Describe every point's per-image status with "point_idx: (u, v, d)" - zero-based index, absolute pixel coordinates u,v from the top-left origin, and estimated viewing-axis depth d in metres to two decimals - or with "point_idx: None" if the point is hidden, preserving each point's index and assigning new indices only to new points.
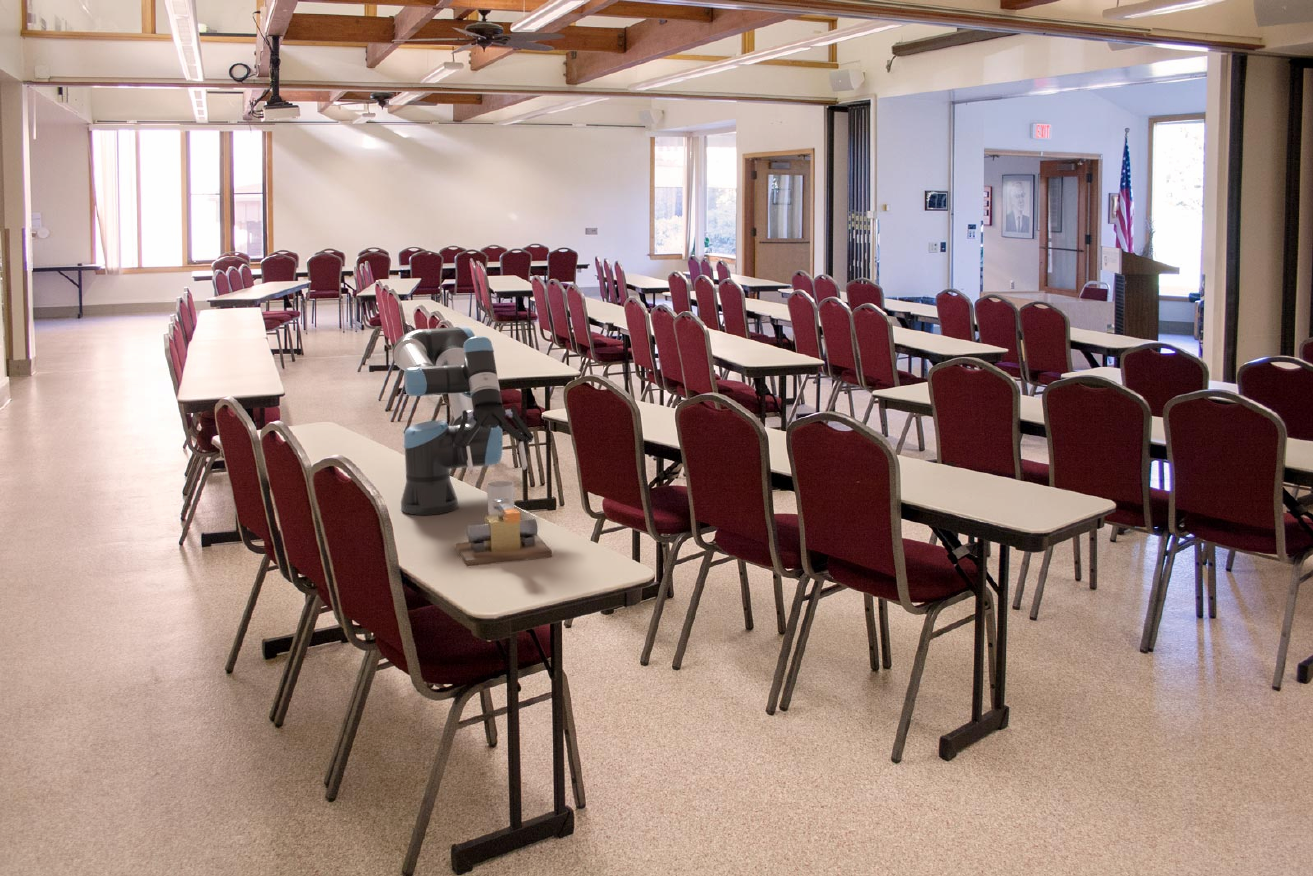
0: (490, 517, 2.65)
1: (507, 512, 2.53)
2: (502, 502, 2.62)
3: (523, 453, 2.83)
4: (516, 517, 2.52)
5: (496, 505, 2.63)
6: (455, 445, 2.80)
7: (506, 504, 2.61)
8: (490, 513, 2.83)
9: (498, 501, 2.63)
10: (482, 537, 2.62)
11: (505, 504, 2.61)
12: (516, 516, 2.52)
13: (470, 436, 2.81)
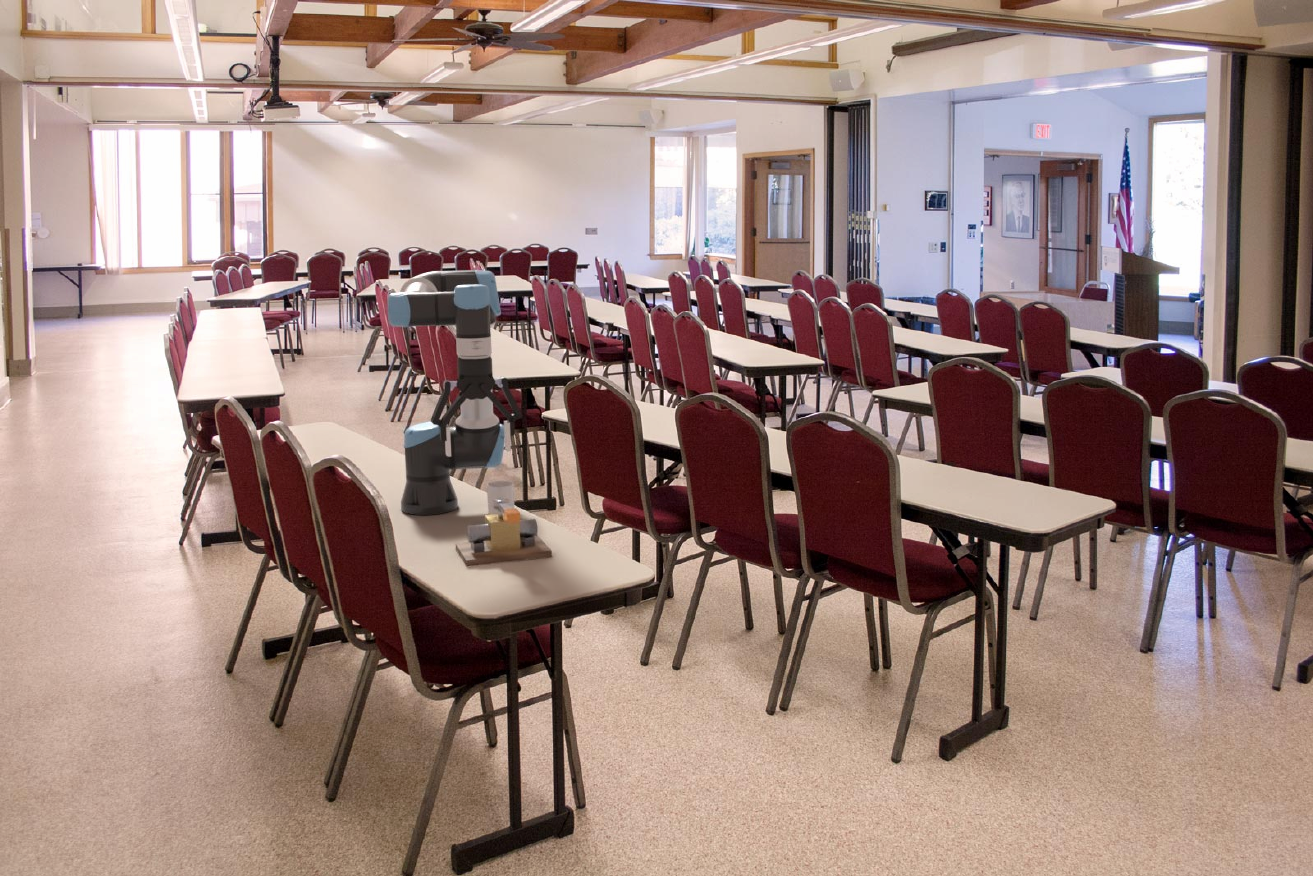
0: (490, 517, 2.65)
1: (507, 512, 2.53)
2: (502, 502, 2.62)
3: (508, 437, 2.49)
4: (516, 517, 2.52)
5: (496, 505, 2.63)
6: (433, 423, 2.44)
7: (506, 504, 2.61)
8: (490, 513, 2.83)
9: (498, 501, 2.63)
10: (482, 537, 2.62)
11: (505, 504, 2.61)
12: (516, 516, 2.52)
13: (451, 414, 2.44)
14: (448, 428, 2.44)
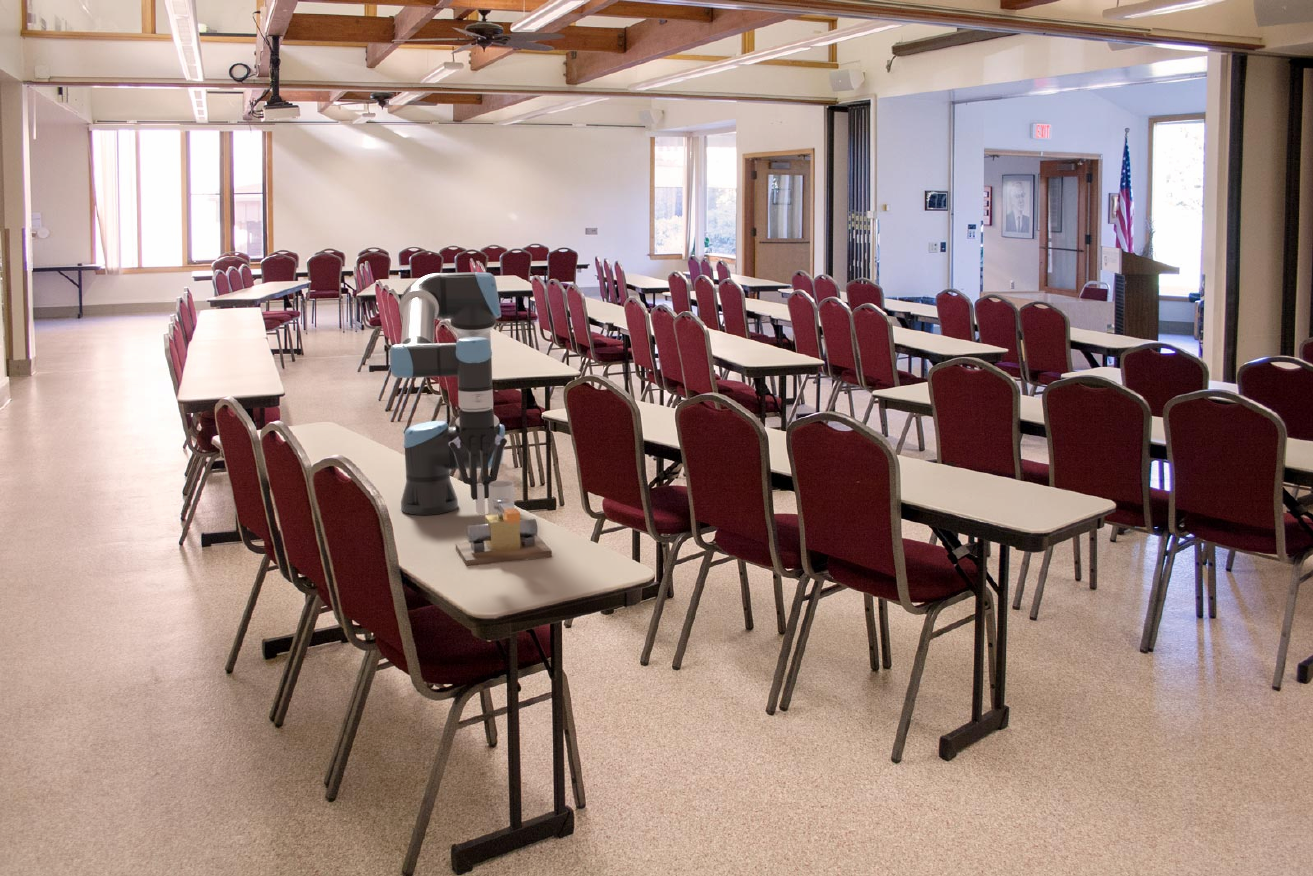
0: (490, 517, 2.65)
1: (507, 512, 2.53)
2: (502, 502, 2.62)
3: (482, 500, 2.49)
4: (516, 517, 2.52)
5: (496, 505, 2.63)
6: None
7: (506, 504, 2.61)
8: (490, 513, 2.83)
9: (498, 501, 2.63)
10: (482, 537, 2.62)
11: (505, 504, 2.61)
12: (516, 516, 2.52)
13: (475, 471, 2.48)
14: (479, 487, 2.48)
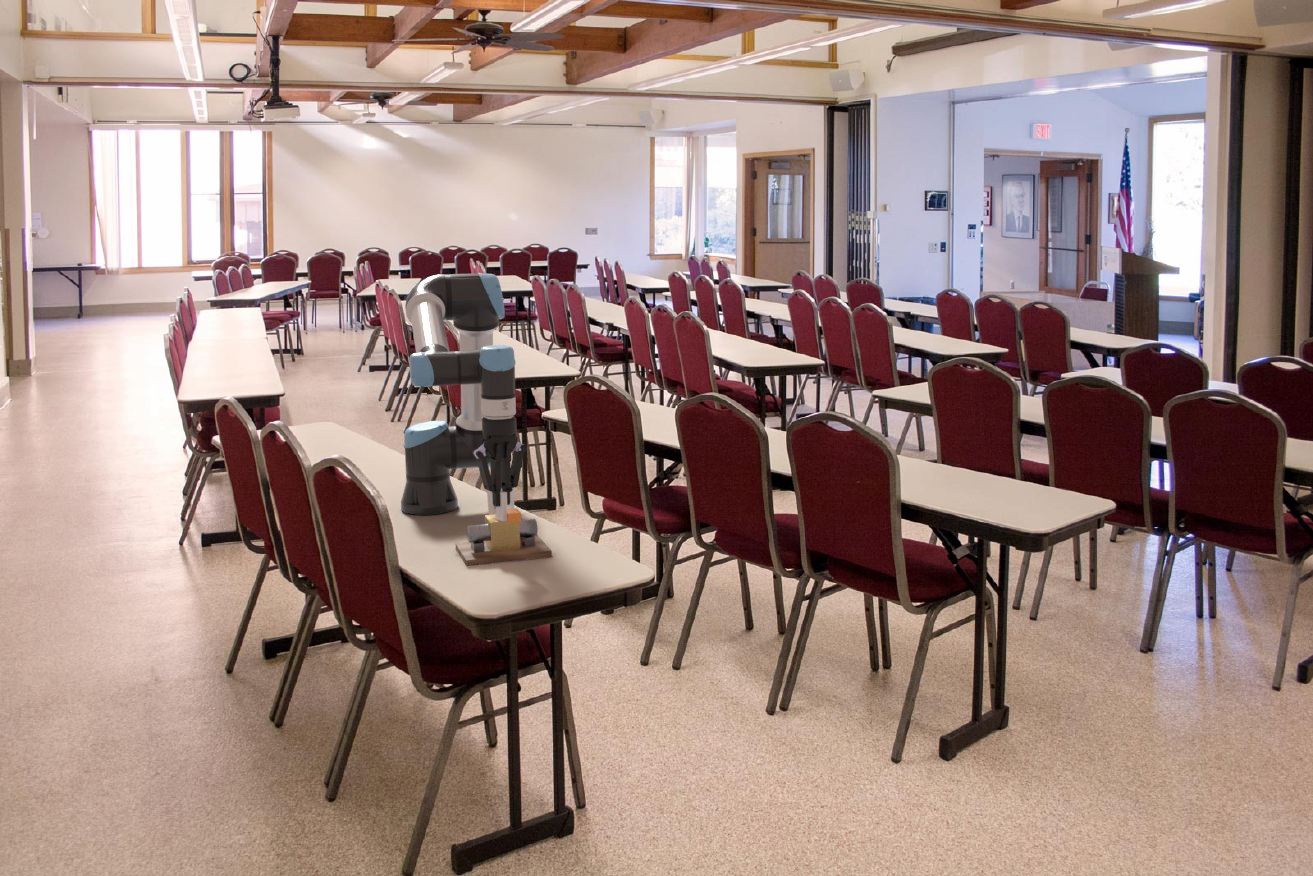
0: (490, 517, 2.65)
1: (508, 512, 2.53)
2: None
3: (505, 506, 2.51)
4: (517, 517, 2.52)
5: None
6: None
7: None
8: (490, 513, 2.83)
9: None
10: (482, 537, 2.62)
11: None
12: (517, 516, 2.52)
13: (499, 478, 2.50)
14: (503, 494, 2.51)
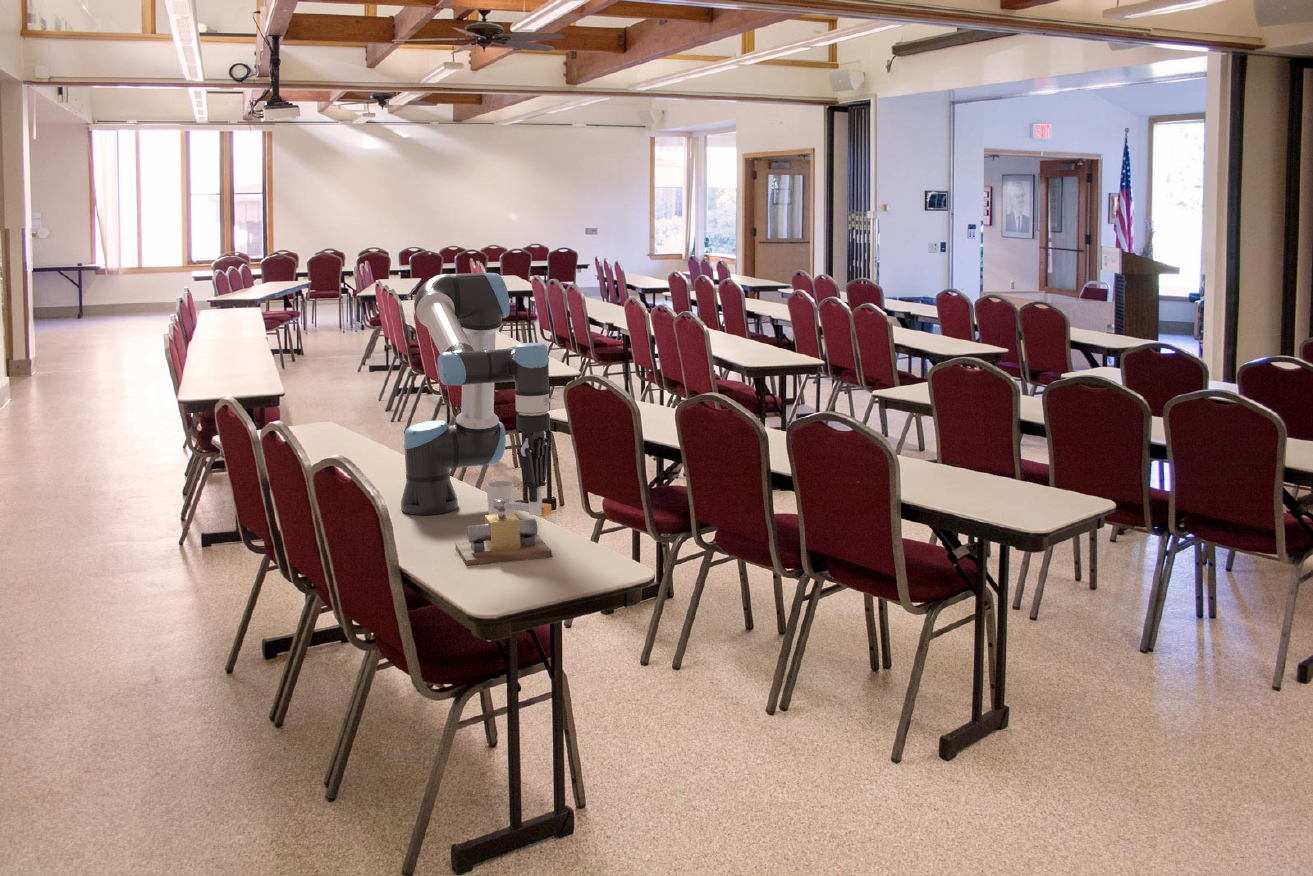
0: (490, 517, 2.65)
1: None
2: (507, 501, 2.63)
3: (541, 500, 2.56)
4: (549, 509, 2.59)
5: (501, 505, 2.62)
6: None
7: (514, 502, 2.63)
8: (490, 513, 2.83)
9: (501, 501, 2.63)
10: (482, 537, 2.62)
11: (512, 502, 2.63)
12: (549, 508, 2.59)
13: (537, 473, 2.54)
14: (540, 488, 2.55)
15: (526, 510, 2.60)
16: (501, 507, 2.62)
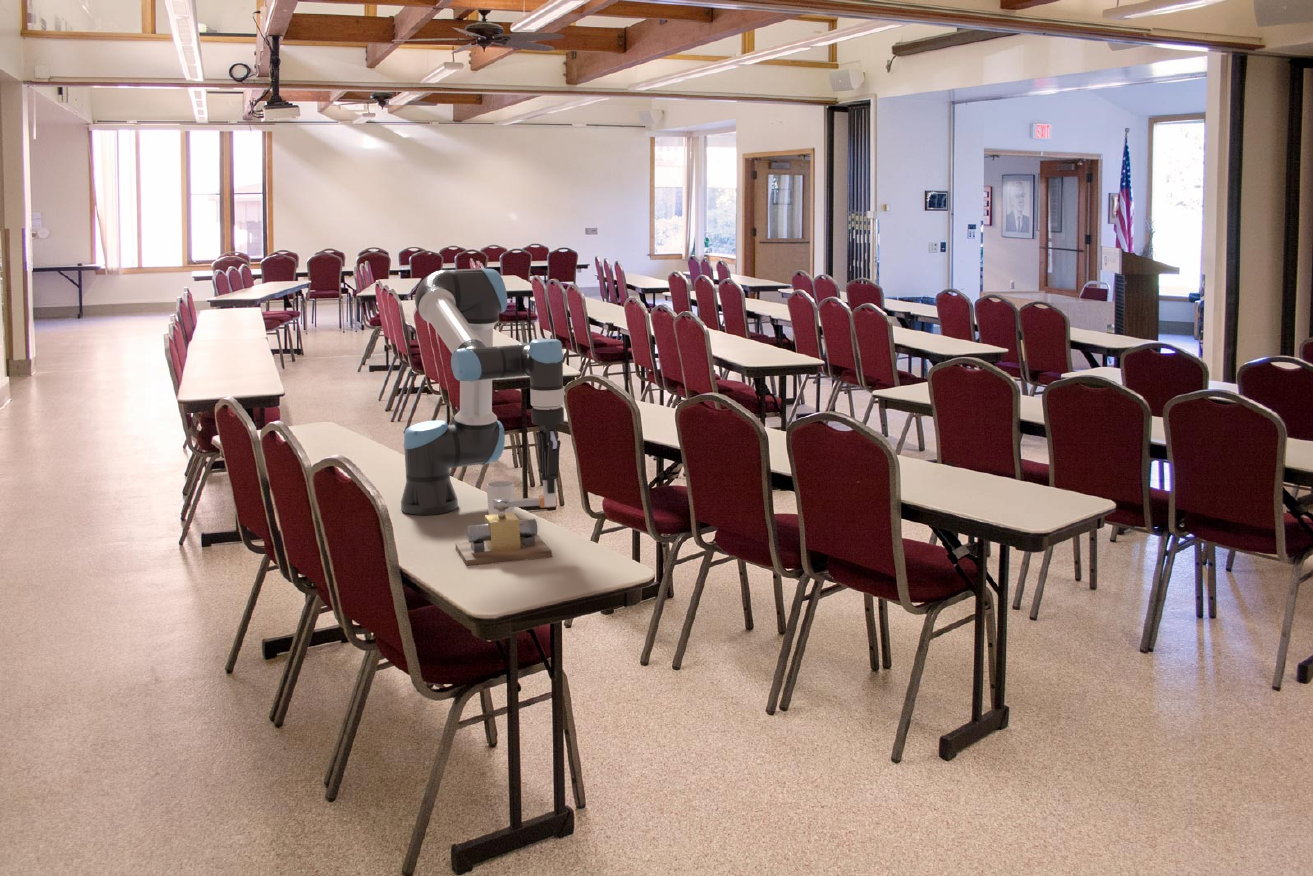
0: (490, 517, 2.65)
1: None
2: (508, 500, 2.64)
3: (554, 491, 2.64)
4: None
5: (506, 504, 2.63)
6: None
7: (515, 499, 2.65)
8: (490, 513, 2.83)
9: (504, 501, 2.63)
10: (482, 537, 2.62)
11: (513, 499, 2.65)
12: None
13: None
14: None
15: (534, 504, 2.65)
16: (506, 506, 2.63)
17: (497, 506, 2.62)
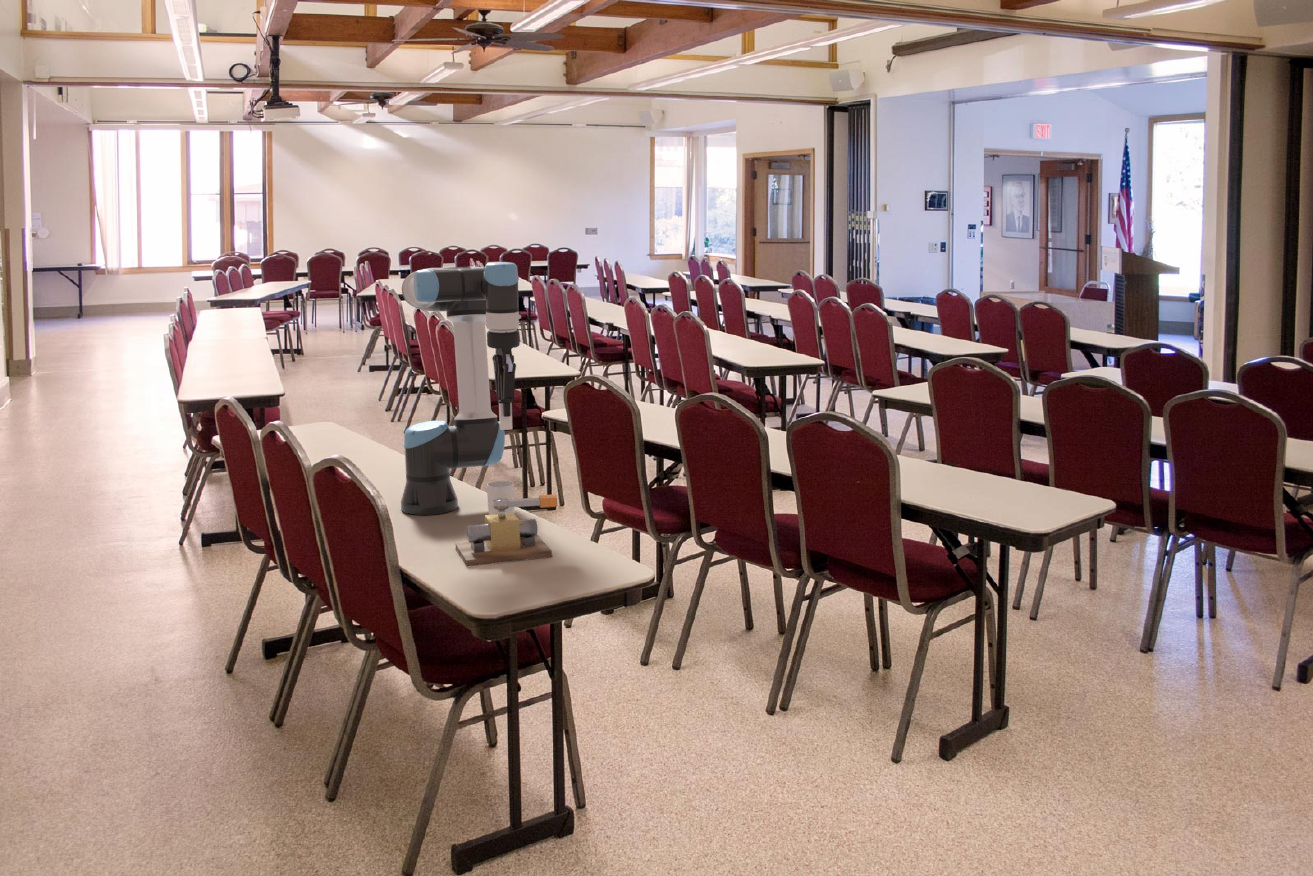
0: (490, 517, 2.65)
1: (551, 497, 2.65)
2: (508, 500, 2.64)
3: None
4: None
5: (506, 504, 2.63)
6: None
7: (515, 499, 2.65)
8: (490, 513, 2.83)
9: (504, 501, 2.63)
10: (482, 537, 2.62)
11: (513, 499, 2.65)
12: None
13: None
14: None
15: (534, 504, 2.65)
16: (506, 506, 2.63)
17: (497, 506, 2.62)
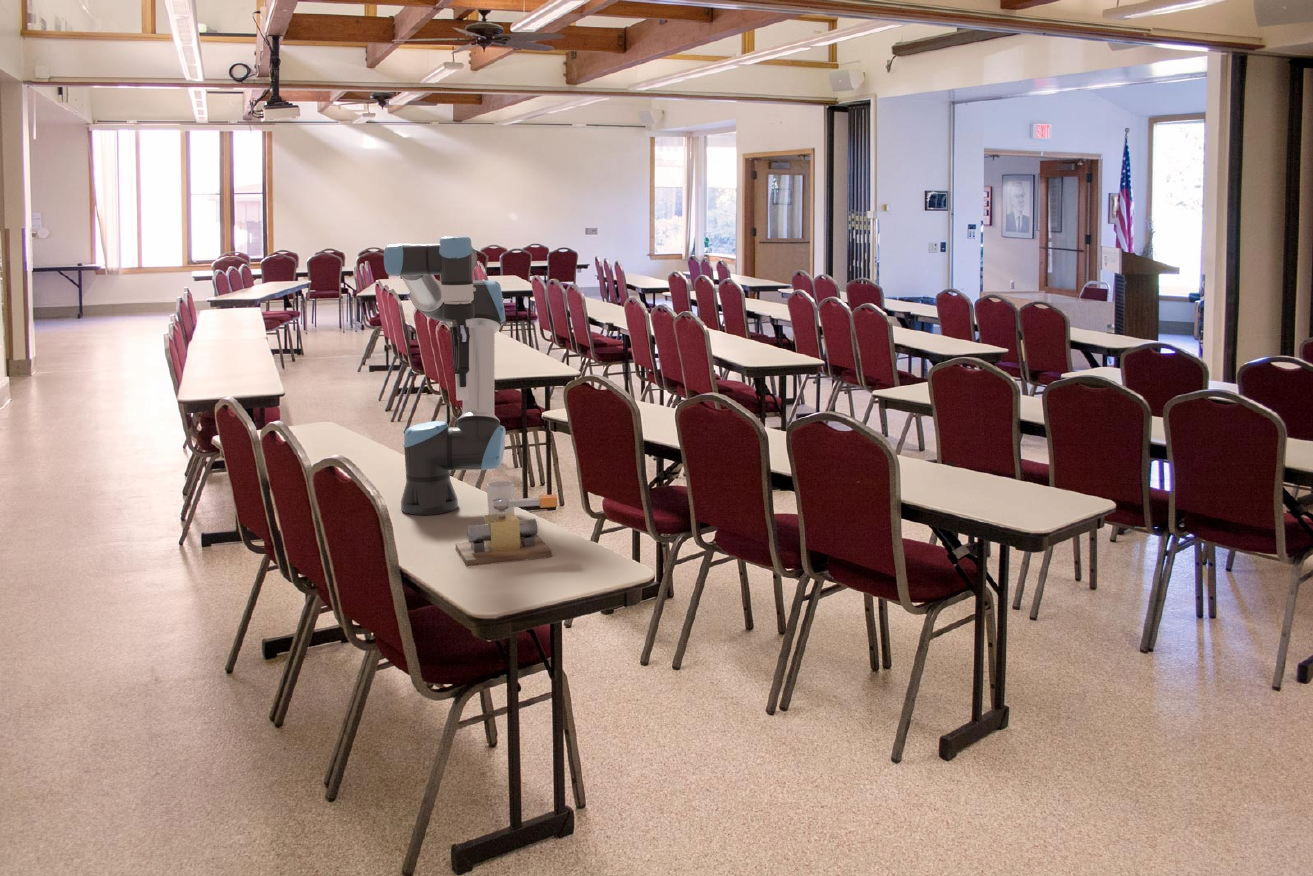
0: (490, 517, 2.65)
1: (551, 497, 2.65)
2: (508, 500, 2.64)
3: None
4: None
5: (506, 504, 2.63)
6: None
7: (515, 499, 2.65)
8: (490, 513, 2.83)
9: (504, 501, 2.63)
10: (482, 537, 2.62)
11: (513, 499, 2.65)
12: None
13: None
14: None
15: (534, 504, 2.65)
16: (506, 506, 2.63)
17: (497, 506, 2.62)
